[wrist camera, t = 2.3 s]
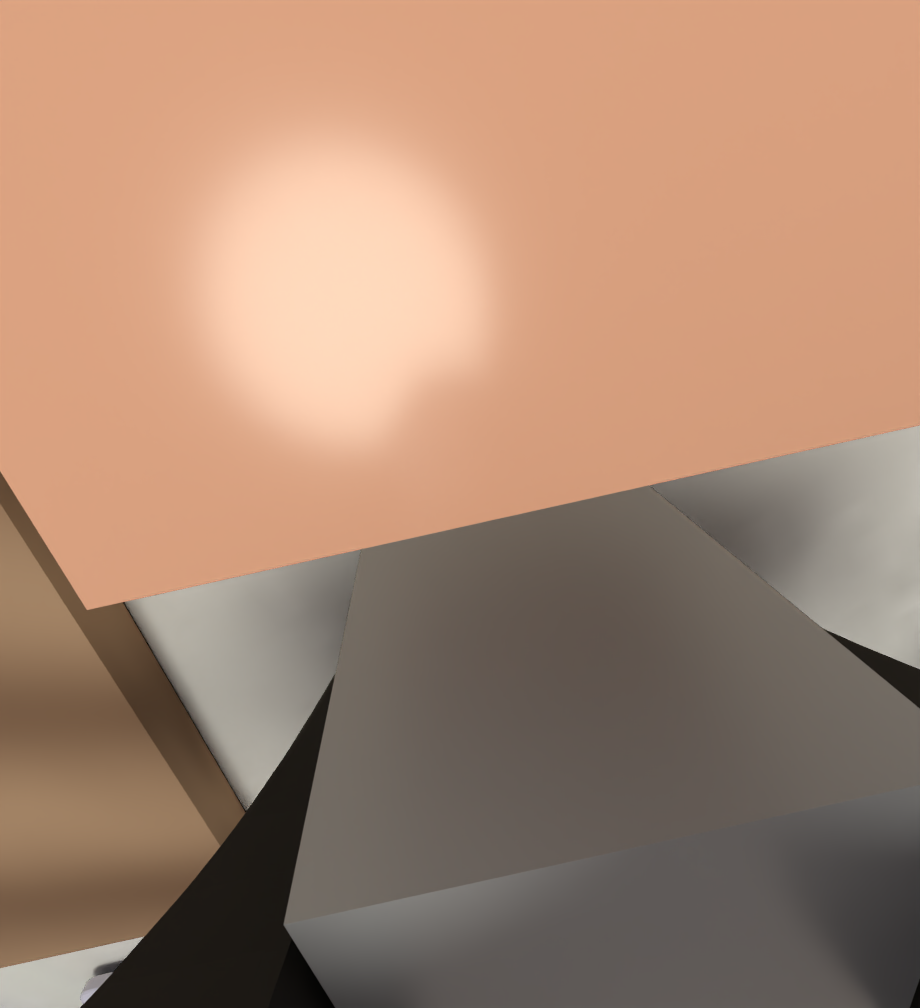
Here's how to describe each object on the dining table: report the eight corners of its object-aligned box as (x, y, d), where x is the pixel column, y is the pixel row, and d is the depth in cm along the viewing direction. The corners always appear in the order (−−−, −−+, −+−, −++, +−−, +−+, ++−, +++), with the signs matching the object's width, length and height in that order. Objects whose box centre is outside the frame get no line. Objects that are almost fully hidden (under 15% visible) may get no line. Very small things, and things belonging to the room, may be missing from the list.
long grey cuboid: (634, 659, 12) (884, 1077, 6) (426, 705, 12) (439, 1174, 6) (619, 461, 10) (993, 768, 4) (367, 517, 10) (284, 924, 4)
